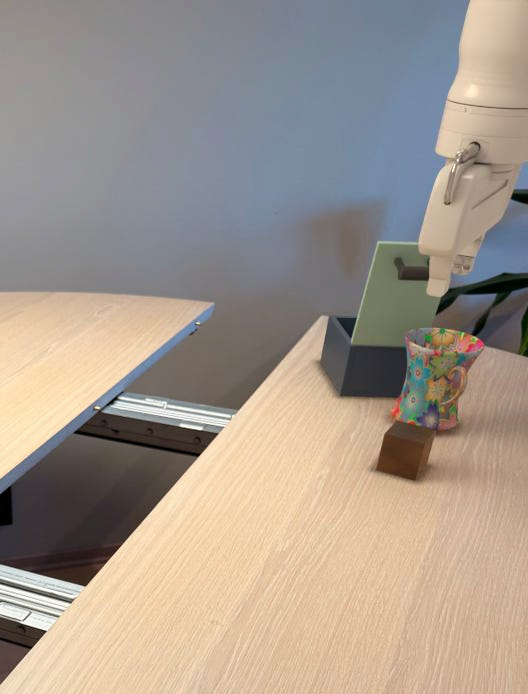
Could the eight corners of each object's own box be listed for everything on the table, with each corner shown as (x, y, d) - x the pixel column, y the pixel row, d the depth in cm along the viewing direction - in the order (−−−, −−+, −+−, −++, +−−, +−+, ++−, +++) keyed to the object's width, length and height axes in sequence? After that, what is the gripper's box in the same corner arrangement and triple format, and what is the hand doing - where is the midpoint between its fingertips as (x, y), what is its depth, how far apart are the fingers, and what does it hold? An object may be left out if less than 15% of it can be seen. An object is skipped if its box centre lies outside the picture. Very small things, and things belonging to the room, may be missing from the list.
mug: (374, 407, 129) (393, 327, 123) (442, 407, 130) (464, 327, 124) (410, 447, 119) (432, 362, 113) (483, 446, 120) (509, 361, 114)
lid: (377, 240, 118) (386, 259, 115) (456, 243, 119) (468, 261, 115) (350, 341, 128) (358, 361, 125) (423, 343, 128) (433, 363, 125)
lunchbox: (319, 362, 142) (328, 315, 138) (385, 363, 142) (396, 317, 138) (340, 395, 132) (350, 346, 128) (411, 397, 132) (423, 348, 128)
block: (426, 466, 115) (436, 429, 112) (414, 480, 112) (424, 443, 109) (387, 456, 117) (396, 420, 114) (375, 470, 114) (384, 433, 111)
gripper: (494, 156, 86) (452, 315, 94) (543, 127, 100) (502, 267, 108) (422, 147, 88) (387, 302, 96) (479, 120, 102) (444, 257, 110)
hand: (448, 283), depth 102 cm, fingers open, 8 cm apart
